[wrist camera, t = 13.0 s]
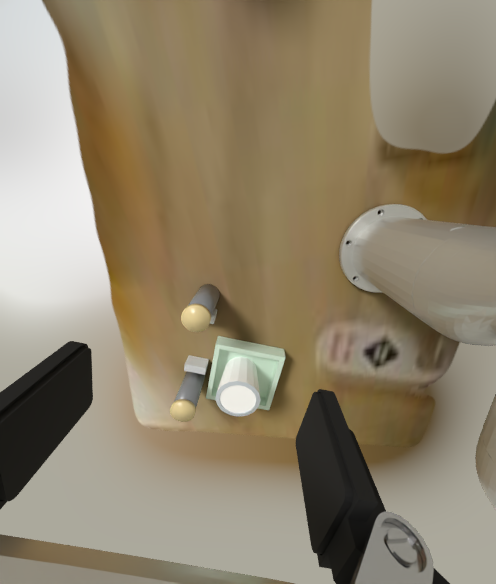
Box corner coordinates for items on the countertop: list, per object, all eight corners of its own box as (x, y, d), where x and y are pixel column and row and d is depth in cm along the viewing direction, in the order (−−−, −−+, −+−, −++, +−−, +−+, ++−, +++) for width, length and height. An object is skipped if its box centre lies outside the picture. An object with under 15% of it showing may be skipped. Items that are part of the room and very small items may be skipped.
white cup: (259, 386, 44) (259, 418, 38) (222, 384, 45) (216, 416, 38) (260, 354, 42) (261, 382, 35) (221, 352, 42) (214, 380, 36)
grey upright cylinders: (221, 286, 39) (212, 309, 30) (204, 383, 45) (192, 423, 37) (198, 281, 38) (182, 303, 30) (185, 379, 45) (169, 419, 37)
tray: (283, 348, 42) (285, 357, 40) (268, 399, 46) (269, 410, 44) (218, 335, 42) (215, 343, 39) (208, 388, 46) (205, 398, 43)
